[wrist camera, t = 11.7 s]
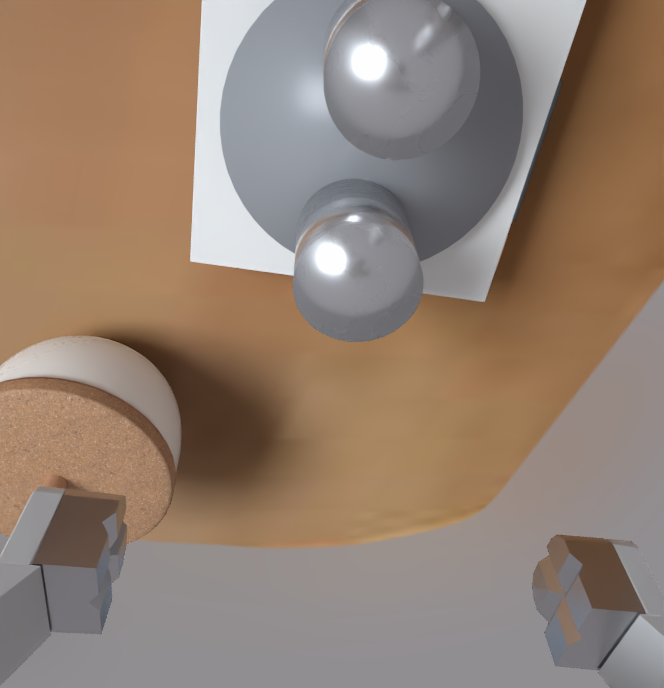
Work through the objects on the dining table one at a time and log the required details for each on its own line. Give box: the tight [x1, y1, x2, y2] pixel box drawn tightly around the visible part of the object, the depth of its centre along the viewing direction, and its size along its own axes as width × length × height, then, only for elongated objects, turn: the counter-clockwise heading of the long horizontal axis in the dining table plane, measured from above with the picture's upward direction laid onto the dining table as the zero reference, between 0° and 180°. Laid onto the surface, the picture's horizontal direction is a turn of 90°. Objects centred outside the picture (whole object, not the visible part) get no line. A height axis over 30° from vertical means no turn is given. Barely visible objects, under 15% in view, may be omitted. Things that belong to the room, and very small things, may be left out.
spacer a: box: [293, 179, 424, 342], centre depth 25 cm, size 5×5×5 cm
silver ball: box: [323, 0, 480, 160], centre depth 21 cm, size 5×5×5 cm
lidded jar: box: [0, 335, 181, 544], centre depth 32 cm, size 11×11×9 cm
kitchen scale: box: [190, 0, 586, 302], centre depth 27 cm, size 14×14×4 cm
